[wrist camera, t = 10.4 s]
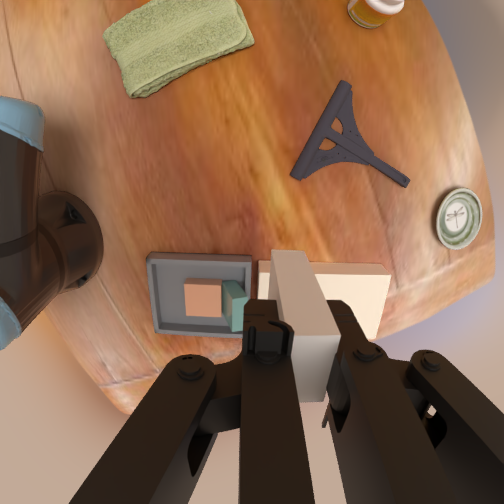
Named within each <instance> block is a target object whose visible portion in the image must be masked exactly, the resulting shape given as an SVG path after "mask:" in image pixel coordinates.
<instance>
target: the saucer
mask: <svg viewBox="0 0 504 504" xmlns="http://www.w3.org/2000/svg"><path fill="white" fill-rule="evenodd" d="M481 222H482V207H481V203H480V200H479V198H478V197H477V195H476V194H475V193H474V192H473V191H472V190H470V189H467V188H457V189H455V190H453V191H451V192H450V193H449V194H448V195H447V196H446V197H445V198H444V200H443V201H442V203H441V205H440V207H439V209H438V212H437V217H436V231H437V235H438V237H439V239H440V241H441V243H442V244H443V245H444V246H446V247H447V248H449V249H452V250H458V249H462V248H464V247H466V246H467V245H469V244H470V243H471V242H472V241H473V240H474V238H475V237H476V235H477V233H478V231H479V229H480V226H481Z"/></svg>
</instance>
